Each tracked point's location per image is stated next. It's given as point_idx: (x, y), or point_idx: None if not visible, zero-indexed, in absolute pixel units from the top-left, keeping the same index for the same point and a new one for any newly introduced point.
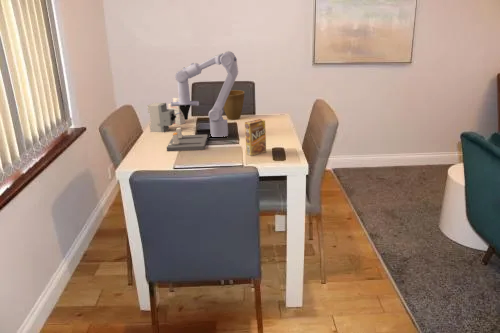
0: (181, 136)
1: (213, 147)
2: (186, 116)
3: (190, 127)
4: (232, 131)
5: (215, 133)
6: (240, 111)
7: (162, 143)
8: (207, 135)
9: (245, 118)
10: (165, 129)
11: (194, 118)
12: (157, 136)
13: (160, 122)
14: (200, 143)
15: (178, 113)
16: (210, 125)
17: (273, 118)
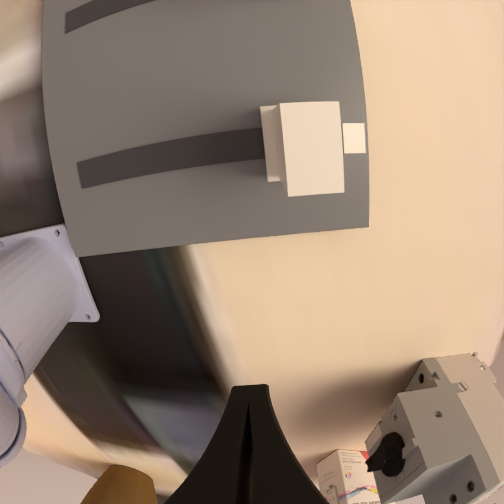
0: (267, 121)
1: (16, 42)
2: (234, 418)
3: None
4: None
5: (20, 247)
6: (93, 485)
7: (420, 107)
8: (73, 241)
9: (93, 464)
10: (415, 383)
11: None
12: (461, 282)
13: (457, 399)
14: (67, 12)
15: (350, 494)
16: (19, 300)
17: None
